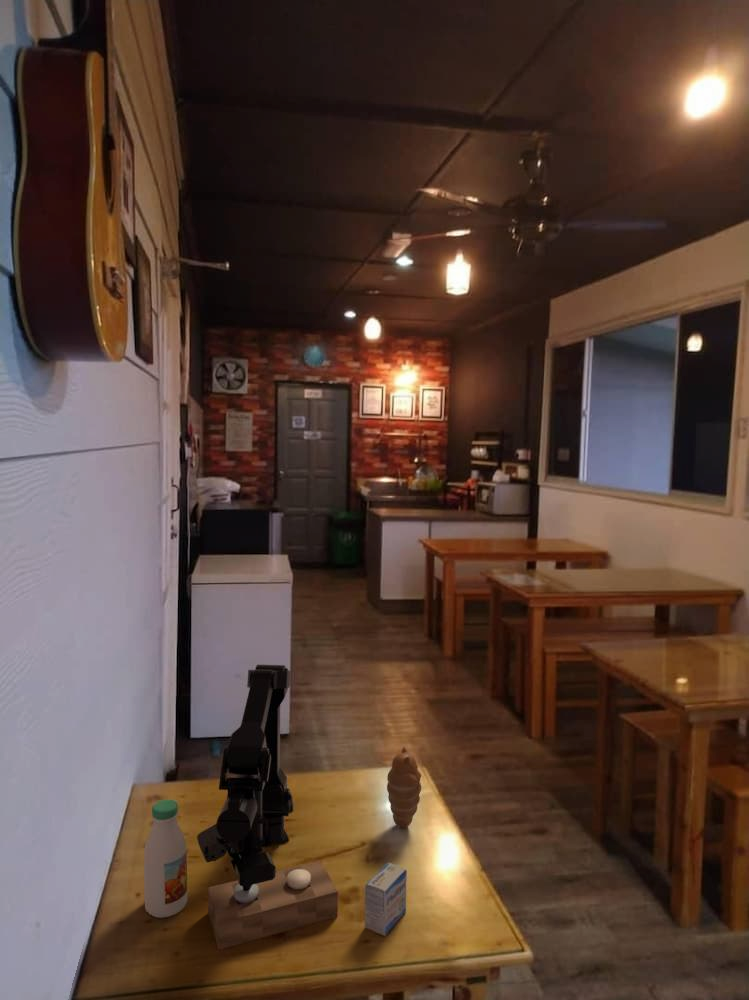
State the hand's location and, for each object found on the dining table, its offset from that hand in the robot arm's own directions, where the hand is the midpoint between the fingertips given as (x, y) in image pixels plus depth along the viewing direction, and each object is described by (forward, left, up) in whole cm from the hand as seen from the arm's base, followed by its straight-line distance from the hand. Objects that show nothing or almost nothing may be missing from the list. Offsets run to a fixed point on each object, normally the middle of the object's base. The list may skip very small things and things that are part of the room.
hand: (246, 889), depth 126 cm
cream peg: (0, +10, -6) cm, 11 cm away
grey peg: (0, 0, -5) cm, 5 cm away
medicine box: (+9, +24, -6) cm, 26 cm away
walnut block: (0, +5, -6) cm, 8 cm away
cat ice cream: (-17, +40, -6) cm, 44 cm away
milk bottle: (-10, -13, -6) cm, 18 cm away
